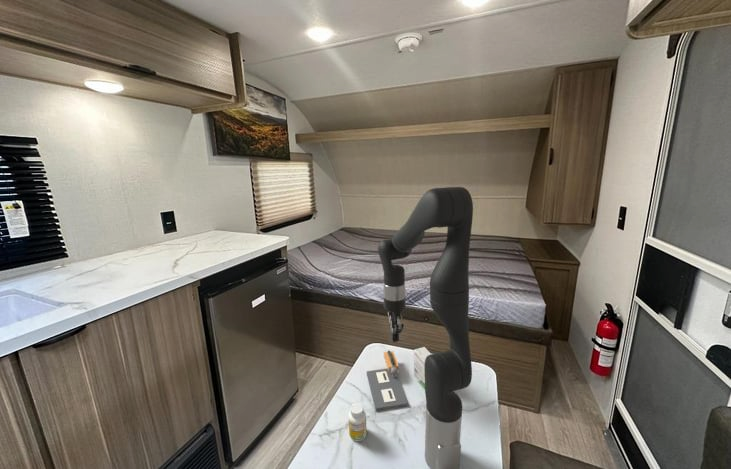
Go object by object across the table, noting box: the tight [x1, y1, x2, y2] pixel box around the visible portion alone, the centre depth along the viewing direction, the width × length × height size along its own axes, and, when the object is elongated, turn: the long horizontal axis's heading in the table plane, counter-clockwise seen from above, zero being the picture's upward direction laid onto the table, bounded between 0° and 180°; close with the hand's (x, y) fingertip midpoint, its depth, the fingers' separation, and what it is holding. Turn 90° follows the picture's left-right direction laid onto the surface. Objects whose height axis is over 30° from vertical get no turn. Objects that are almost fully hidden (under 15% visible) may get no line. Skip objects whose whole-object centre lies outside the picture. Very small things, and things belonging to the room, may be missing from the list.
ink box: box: [413, 346, 432, 390], centre depth 108 cm, size 8×5×12 cm, turn 21°
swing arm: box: [383, 350, 400, 376], centre depth 113 cm, size 4×11×3 cm, turn 8°
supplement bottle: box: [347, 402, 368, 442], centre depth 87 cm, size 5×5×10 cm
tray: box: [366, 367, 408, 412], centre depth 106 cm, size 18×11×3 cm, turn 10°
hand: (395, 340), depth 102 cm, fingers closed
